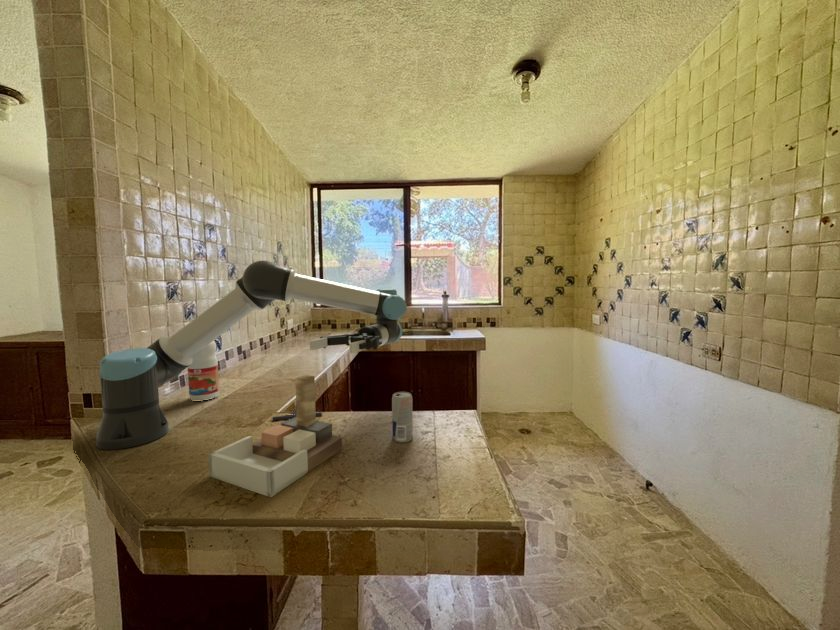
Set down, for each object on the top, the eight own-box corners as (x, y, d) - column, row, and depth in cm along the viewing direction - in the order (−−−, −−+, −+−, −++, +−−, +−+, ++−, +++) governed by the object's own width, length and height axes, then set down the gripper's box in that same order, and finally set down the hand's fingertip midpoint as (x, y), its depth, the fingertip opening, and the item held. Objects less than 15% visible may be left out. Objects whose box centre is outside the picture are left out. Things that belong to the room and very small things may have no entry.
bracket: (321, 403, 123) (321, 395, 123) (321, 418, 109) (321, 409, 109) (278, 407, 119) (277, 399, 119) (272, 423, 105) (272, 414, 104)
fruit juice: (224, 393, 133) (220, 321, 131) (211, 401, 123) (207, 323, 121) (198, 394, 132) (194, 321, 130) (183, 402, 123) (179, 324, 120)
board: (250, 456, 83) (249, 443, 83) (288, 436, 94) (287, 425, 94) (307, 472, 75) (307, 458, 75) (342, 449, 86) (341, 437, 86)
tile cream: (283, 450, 79) (283, 437, 79) (299, 441, 84) (299, 429, 84) (300, 454, 77) (299, 441, 77) (315, 445, 82) (315, 432, 82)
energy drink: (399, 432, 96) (399, 390, 95) (416, 437, 93) (416, 393, 92) (388, 440, 91) (387, 395, 90) (405, 444, 88) (405, 399, 88)
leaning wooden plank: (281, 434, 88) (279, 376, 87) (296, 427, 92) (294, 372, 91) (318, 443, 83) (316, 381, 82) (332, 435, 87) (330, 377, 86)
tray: (209, 476, 74) (208, 454, 74) (250, 456, 83) (249, 435, 83) (270, 497, 66) (269, 472, 66) (307, 472, 75) (307, 450, 75)
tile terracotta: (261, 444, 82) (261, 432, 82) (278, 436, 87) (278, 424, 87) (277, 448, 80) (276, 435, 80) (293, 439, 85) (293, 428, 85)
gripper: (406, 350, 109) (369, 364, 90) (341, 345, 120) (296, 357, 100) (405, 326, 109) (368, 335, 89) (341, 324, 119) (295, 331, 100)
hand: (330, 346), depth 95 cm, fingers open, 13 cm apart
